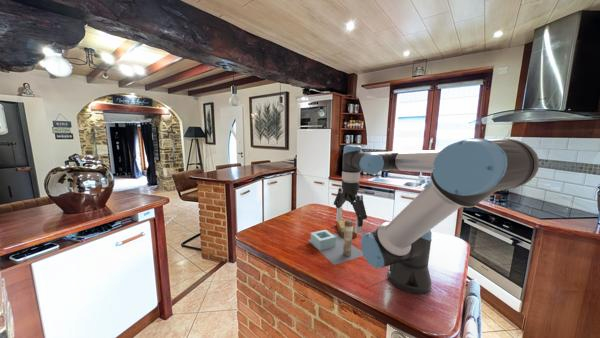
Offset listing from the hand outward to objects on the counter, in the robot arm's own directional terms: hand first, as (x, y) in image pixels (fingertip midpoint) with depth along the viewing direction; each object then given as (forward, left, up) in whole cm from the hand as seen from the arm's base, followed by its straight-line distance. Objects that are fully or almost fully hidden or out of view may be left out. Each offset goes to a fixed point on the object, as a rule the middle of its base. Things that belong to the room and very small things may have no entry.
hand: (348, 226), depth 100 cm
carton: (+20, -15, -15) cm, 29 cm away
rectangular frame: (+13, +5, -14) cm, 19 cm away
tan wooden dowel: (0, 0, -14) cm, 14 cm away
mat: (+8, +1, -14) cm, 16 cm away
